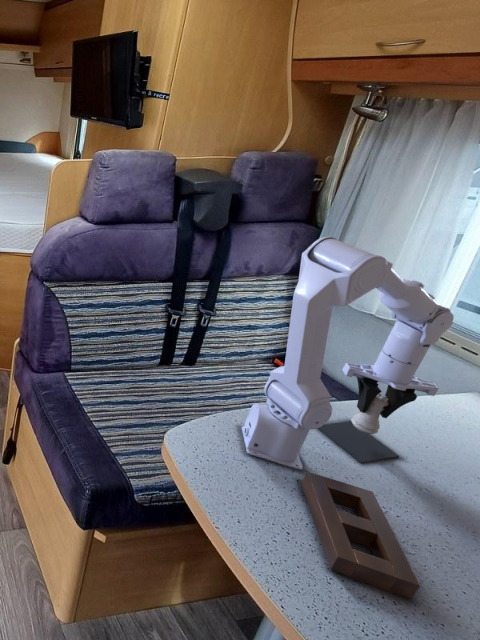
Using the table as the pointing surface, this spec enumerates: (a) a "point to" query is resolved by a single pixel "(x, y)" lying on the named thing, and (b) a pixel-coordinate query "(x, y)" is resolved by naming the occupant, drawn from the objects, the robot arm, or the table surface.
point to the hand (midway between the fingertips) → (371, 412)
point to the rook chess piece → (370, 416)
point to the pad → (357, 442)
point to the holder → (357, 535)
